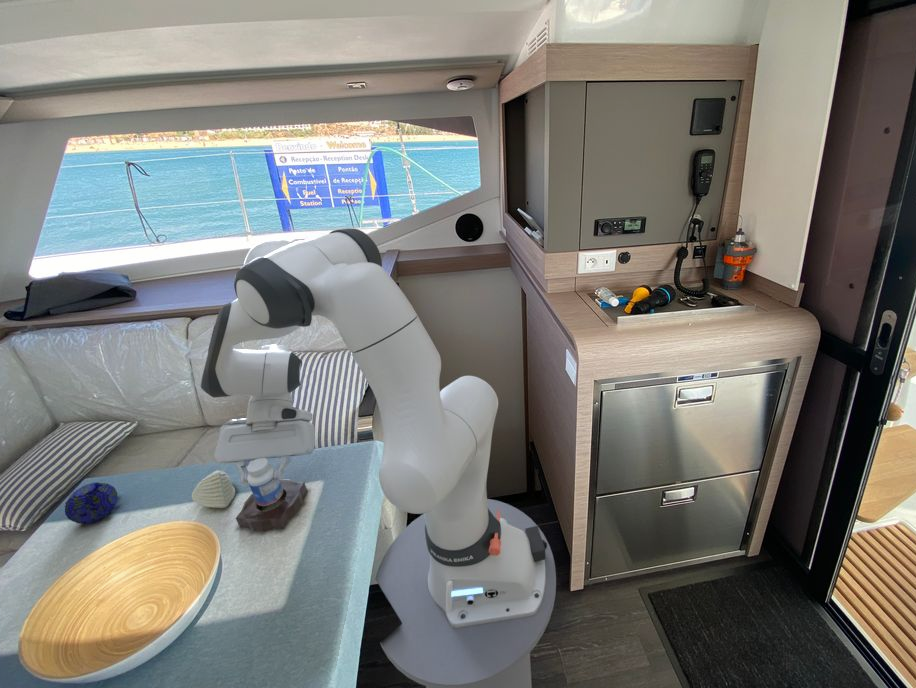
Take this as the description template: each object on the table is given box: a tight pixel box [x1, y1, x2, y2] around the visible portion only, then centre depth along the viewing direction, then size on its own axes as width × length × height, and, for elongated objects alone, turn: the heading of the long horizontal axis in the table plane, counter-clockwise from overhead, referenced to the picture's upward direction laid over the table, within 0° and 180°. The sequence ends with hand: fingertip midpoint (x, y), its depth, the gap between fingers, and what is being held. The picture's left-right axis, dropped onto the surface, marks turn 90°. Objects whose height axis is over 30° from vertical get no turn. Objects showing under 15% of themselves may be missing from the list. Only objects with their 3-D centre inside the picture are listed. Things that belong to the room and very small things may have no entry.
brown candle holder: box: [235, 478, 308, 532], centre depth 93 cm, size 11×11×3 cm
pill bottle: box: [246, 458, 283, 507], centre depth 91 cm, size 6×5×10 cm
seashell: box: [191, 469, 236, 509], centre depth 97 cm, size 8×8×8 cm
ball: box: [64, 482, 119, 524], centre depth 94 cm, size 8×8×8 cm
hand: (262, 481), depth 90 cm, fingers closed on pill bottle, 5 cm apart
